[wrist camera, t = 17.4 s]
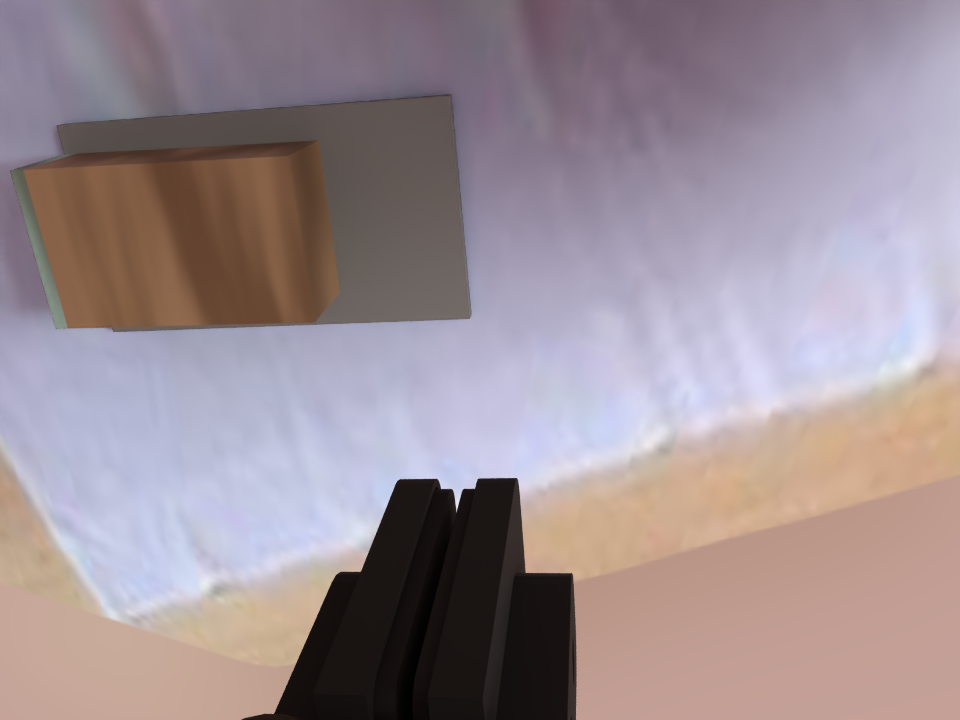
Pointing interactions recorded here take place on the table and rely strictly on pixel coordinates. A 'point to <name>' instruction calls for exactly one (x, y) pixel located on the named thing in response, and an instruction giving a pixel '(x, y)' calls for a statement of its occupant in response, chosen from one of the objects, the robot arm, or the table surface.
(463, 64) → the table surface
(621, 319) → the table surface
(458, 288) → the mat
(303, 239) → the block
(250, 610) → the table surface
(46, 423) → the table surface
